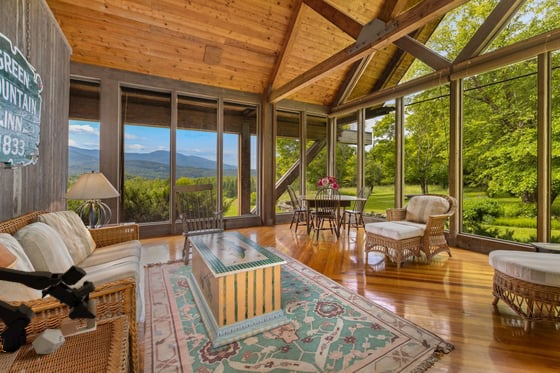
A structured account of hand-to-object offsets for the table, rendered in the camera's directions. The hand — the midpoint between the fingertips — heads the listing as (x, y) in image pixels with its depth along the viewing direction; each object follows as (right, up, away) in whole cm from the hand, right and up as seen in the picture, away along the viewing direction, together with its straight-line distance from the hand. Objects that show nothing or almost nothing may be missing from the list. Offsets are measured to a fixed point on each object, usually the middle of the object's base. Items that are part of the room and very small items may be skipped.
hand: (95, 312), depth 111 cm
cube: (-8, -6, -5) cm, 11 cm away
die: (-6, -7, -16) cm, 19 cm away
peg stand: (-5, -7, -3) cm, 9 cm away
